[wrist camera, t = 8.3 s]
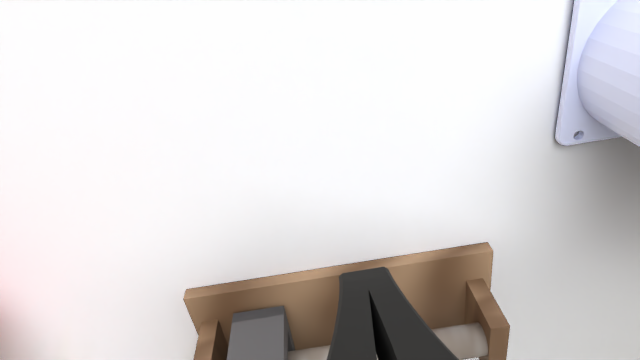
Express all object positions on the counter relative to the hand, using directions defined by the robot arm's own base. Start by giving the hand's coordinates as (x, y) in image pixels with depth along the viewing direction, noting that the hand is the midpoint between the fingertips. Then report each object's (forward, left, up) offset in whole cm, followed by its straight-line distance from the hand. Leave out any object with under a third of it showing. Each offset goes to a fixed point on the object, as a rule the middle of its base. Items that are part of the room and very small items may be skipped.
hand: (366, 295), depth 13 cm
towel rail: (+1, +12, -10) cm, 16 cm away
